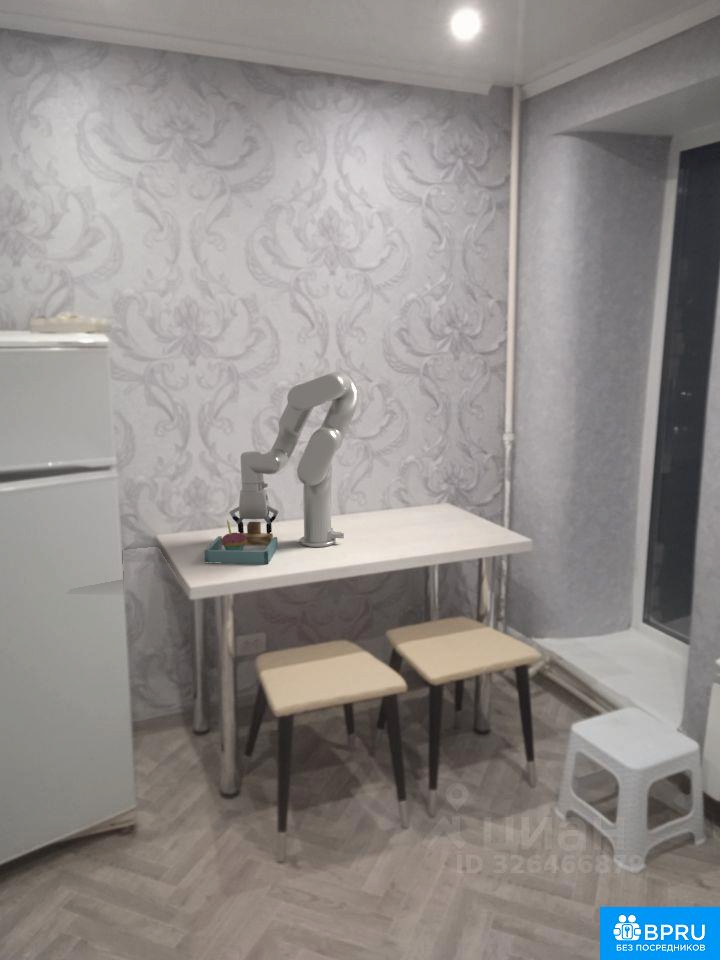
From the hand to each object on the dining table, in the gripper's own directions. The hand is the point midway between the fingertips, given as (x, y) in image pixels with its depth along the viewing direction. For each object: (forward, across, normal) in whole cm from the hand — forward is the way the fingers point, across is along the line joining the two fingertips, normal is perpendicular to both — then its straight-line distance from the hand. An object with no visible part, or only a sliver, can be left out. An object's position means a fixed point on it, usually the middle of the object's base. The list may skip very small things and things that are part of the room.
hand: (255, 534), depth 258 cm
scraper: (+2, 0, +2) cm, 3 cm away
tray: (+2, 0, +18) cm, 18 cm away
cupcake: (+2, +4, +17) cm, 17 cm away
